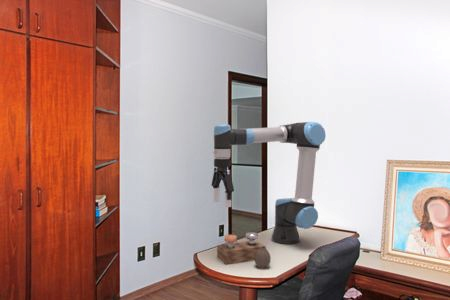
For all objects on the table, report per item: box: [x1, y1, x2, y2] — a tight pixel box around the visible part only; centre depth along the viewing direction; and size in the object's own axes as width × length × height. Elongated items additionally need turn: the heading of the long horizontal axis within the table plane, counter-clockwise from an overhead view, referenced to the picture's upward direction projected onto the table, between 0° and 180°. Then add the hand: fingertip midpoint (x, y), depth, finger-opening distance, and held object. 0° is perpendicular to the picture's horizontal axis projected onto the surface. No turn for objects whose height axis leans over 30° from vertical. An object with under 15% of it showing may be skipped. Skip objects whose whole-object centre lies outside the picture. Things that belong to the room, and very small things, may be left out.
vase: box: [254, 245, 271, 269], centre depth 159 cm, size 7×7×9 cm
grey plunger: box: [245, 231, 259, 246], centre depth 171 cm, size 6×6×6 cm
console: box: [216, 240, 266, 266], centre depth 169 cm, size 20×10×6 cm, turn 114°
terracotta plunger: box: [224, 234, 238, 248], centre depth 167 cm, size 6×6×6 cm
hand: (222, 204), depth 168 cm, fingers open, 13 cm apart
